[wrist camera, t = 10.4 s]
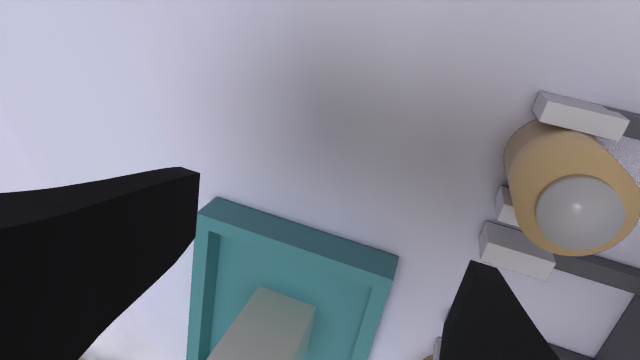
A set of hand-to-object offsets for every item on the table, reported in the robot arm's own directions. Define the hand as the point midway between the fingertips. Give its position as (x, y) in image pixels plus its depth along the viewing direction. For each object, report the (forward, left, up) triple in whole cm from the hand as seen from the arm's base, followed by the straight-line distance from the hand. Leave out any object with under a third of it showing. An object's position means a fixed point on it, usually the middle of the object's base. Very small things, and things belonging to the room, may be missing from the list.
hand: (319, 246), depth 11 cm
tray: (+3, +13, -10) cm, 17 cm away
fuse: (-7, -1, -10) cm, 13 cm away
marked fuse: (+3, +13, -10) cm, 16 cm away
